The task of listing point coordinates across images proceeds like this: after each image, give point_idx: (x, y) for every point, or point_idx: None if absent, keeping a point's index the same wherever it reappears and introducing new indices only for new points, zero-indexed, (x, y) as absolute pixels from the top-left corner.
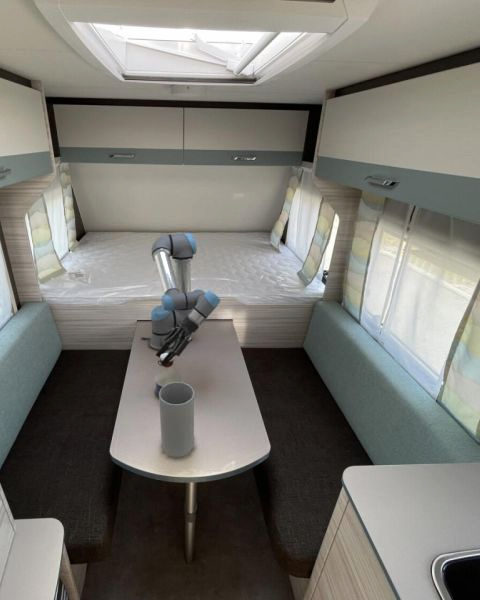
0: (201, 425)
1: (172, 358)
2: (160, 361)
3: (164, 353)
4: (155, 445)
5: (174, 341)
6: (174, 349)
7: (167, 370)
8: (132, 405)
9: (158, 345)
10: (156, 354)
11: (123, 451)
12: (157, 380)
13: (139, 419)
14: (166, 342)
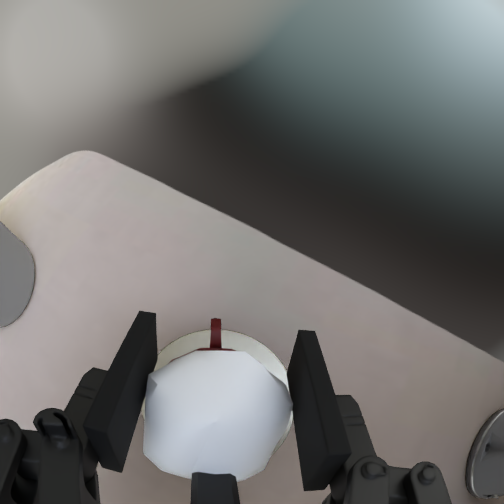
0: (11, 386)
1: (143, 442)
2: (210, 341)
3: (243, 403)
4: (36, 232)
5: (482, 496)
6: (43, 473)
7: (287, 428)
8: (219, 237)
9: (491, 437)
10: (304, 335)
11: (77, 162)
12: (228, 341)
13: (140, 231)
14: (350, 483)
